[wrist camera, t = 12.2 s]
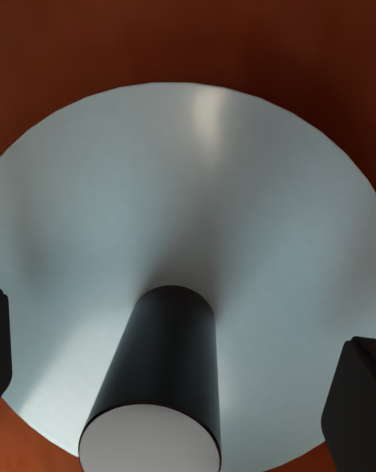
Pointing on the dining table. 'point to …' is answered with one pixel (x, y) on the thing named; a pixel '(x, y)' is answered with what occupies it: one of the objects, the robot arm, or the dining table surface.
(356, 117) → the dining table surface
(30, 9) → the dining table surface
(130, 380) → the pot lid
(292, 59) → the dining table surface
